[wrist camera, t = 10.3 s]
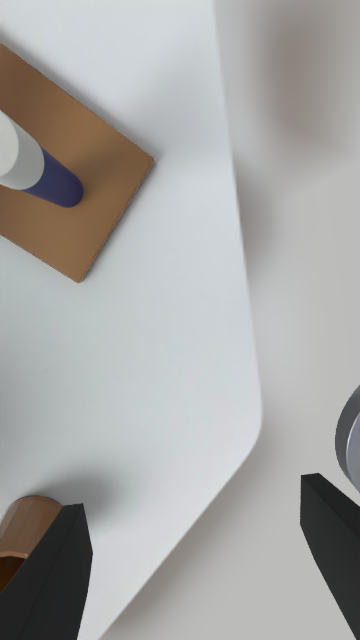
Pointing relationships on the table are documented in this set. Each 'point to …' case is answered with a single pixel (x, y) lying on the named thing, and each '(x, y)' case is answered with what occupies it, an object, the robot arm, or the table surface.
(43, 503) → the cup
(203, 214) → the table surface
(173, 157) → the table surface
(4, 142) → the marker
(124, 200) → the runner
